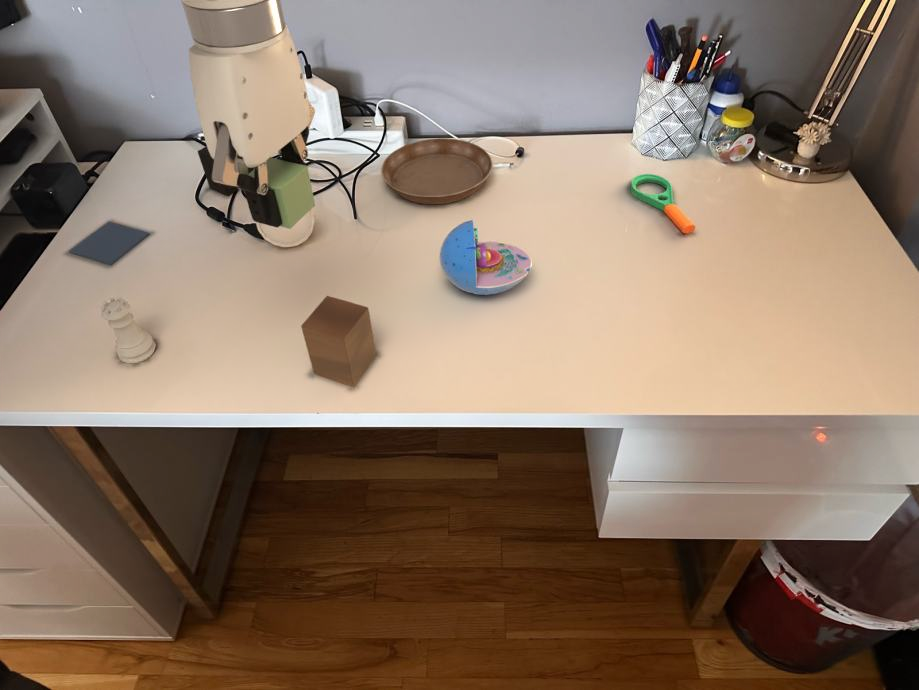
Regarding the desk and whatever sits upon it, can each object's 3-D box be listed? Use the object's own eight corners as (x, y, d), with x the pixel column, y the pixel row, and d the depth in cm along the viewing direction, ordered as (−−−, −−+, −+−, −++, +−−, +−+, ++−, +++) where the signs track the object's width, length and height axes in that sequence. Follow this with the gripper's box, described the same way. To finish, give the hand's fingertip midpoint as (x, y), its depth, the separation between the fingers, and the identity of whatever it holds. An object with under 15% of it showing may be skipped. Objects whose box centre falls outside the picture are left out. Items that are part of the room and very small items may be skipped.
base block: (354, 387, 78) (343, 339, 72) (313, 374, 80) (300, 325, 74) (376, 356, 81) (368, 307, 76) (337, 343, 83) (327, 295, 77)
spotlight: (256, 248, 95) (253, 193, 91) (260, 217, 104) (258, 166, 100) (314, 249, 97) (314, 196, 93) (313, 219, 106) (313, 169, 102)
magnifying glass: (623, 184, 107) (624, 174, 105) (658, 177, 108) (660, 168, 106) (668, 238, 96) (670, 229, 95) (706, 231, 97) (709, 221, 96)
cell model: (534, 307, 87) (538, 247, 80) (442, 312, 87) (438, 252, 80) (526, 259, 94) (529, 201, 87) (440, 263, 94) (436, 205, 87)
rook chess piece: (111, 358, 82) (83, 310, 77) (139, 335, 85) (114, 287, 80) (137, 370, 81) (111, 322, 75) (164, 346, 84) (141, 298, 78)
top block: (290, 229, 66) (280, 189, 62) (252, 219, 67) (241, 179, 64) (315, 205, 68) (307, 165, 65) (279, 196, 70) (269, 157, 67)
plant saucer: (361, 194, 107) (358, 177, 104) (420, 144, 117) (418, 128, 115) (458, 224, 100) (457, 207, 98) (511, 168, 111) (511, 151, 109)
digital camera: (232, 199, 107) (220, 159, 102) (209, 189, 109) (196, 150, 104) (279, 170, 113) (269, 131, 108) (256, 161, 115) (246, 122, 110)
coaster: (111, 266, 95) (110, 263, 95) (69, 253, 98) (68, 251, 98) (150, 234, 101) (149, 232, 100) (109, 223, 103) (108, 221, 103)
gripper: (260, -19, 61) (299, 161, 74) (125, 50, 50) (198, 247, 63) (331, -10, 59) (358, 175, 72) (205, 65, 48) (263, 266, 61)
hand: (283, 207), depth 67 cm, fingers closed on top block, 4 cm apart
